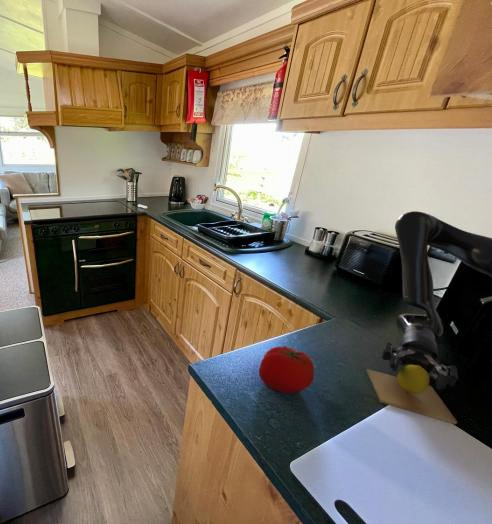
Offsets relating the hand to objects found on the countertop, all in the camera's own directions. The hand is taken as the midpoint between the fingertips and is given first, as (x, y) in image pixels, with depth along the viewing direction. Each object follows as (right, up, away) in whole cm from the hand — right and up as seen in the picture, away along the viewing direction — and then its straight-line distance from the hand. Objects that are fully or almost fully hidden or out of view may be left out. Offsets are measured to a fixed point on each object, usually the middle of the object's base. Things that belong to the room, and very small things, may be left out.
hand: (417, 376), depth 68 cm
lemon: (+1, -6, +4) cm, 7 cm away
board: (+1, -6, +4) cm, 7 cm away
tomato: (-30, -4, +4) cm, 31 cm away
